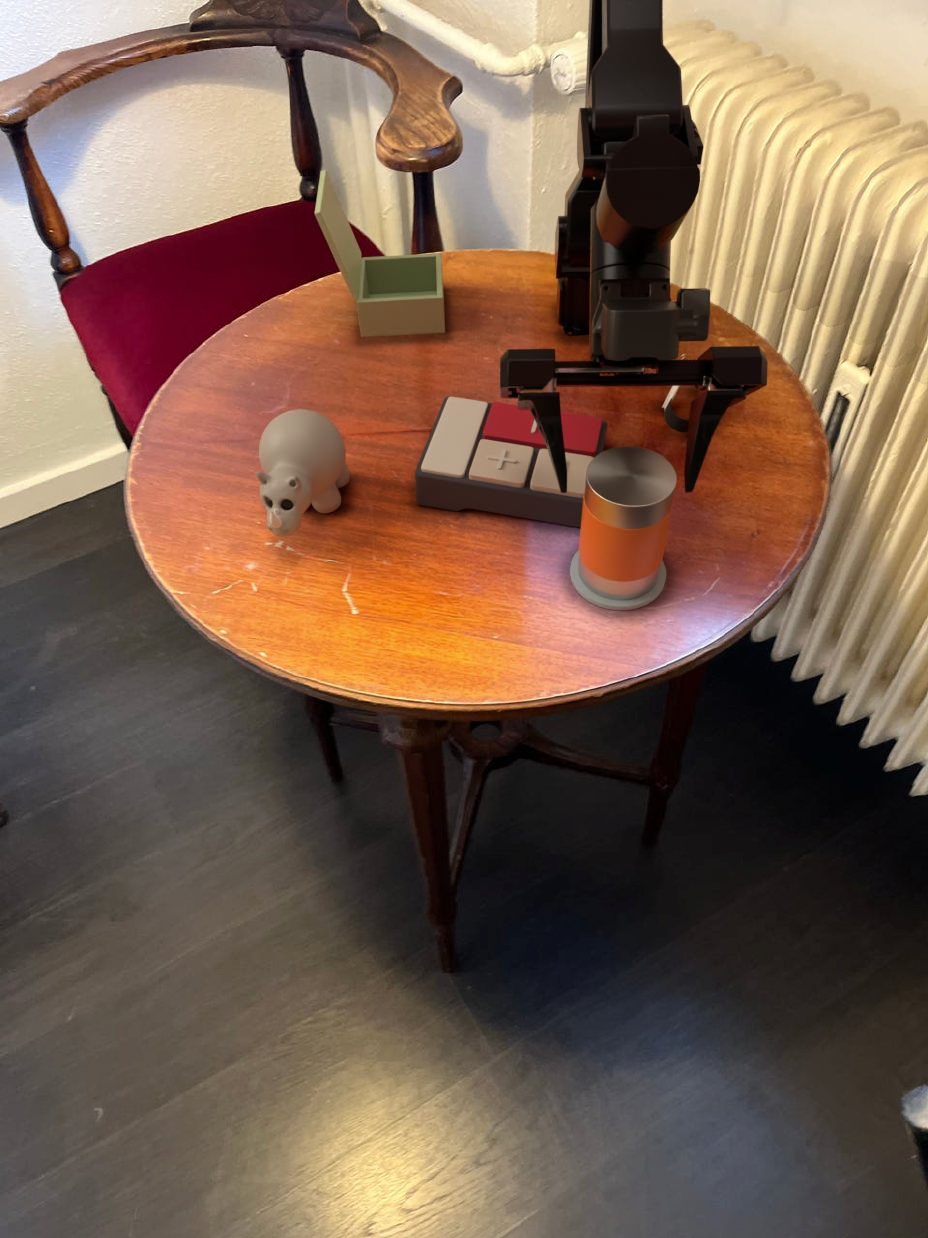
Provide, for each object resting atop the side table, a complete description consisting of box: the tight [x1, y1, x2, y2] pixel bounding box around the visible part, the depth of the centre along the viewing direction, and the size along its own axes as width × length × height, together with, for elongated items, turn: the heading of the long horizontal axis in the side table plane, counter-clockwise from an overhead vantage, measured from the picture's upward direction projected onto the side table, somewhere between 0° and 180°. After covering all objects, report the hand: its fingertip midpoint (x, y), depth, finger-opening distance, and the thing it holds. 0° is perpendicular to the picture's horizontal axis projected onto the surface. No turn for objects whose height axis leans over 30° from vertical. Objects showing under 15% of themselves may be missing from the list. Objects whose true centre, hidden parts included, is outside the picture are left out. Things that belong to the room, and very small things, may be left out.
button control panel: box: [414, 396, 608, 528], centre depth 78 cm, size 11×4×15 cm
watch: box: [661, 386, 689, 433], centre depth 83 cm, size 8×5×4 cm, turn 156°
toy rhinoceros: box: [255, 408, 351, 538], centre depth 74 cm, size 7×12×8 cm, turn 168°
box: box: [355, 252, 446, 338], centre depth 95 cm, size 9×9×5 cm
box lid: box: [314, 169, 362, 300], centre depth 89 cm, size 9×9×1 cm
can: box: [578, 446, 678, 600], centre depth 67 cm, size 6×6×10 cm
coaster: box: [569, 549, 667, 611], centre depth 71 cm, size 8×8×1 cm
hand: (626, 492), depth 66 cm, fingers open, 9 cm apart
